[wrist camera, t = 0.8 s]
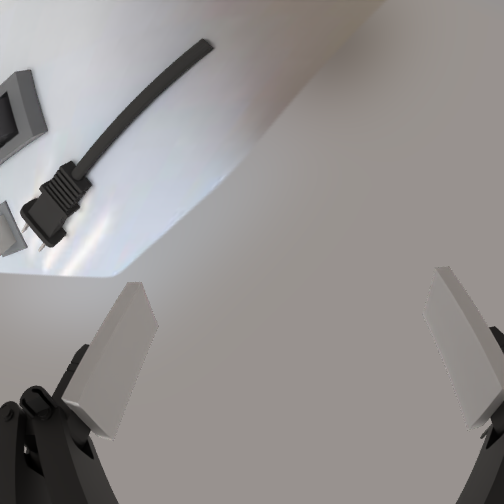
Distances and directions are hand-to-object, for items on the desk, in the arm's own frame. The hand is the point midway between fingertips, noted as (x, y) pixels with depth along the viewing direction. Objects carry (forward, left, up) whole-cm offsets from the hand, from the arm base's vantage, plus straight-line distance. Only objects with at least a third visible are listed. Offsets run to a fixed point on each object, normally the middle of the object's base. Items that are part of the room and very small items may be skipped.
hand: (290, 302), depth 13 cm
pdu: (-20, -48, -27) cm, 59 cm away
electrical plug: (-8, -24, -27) cm, 37 cm away
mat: (-3, -53, -26) cm, 60 cm away
